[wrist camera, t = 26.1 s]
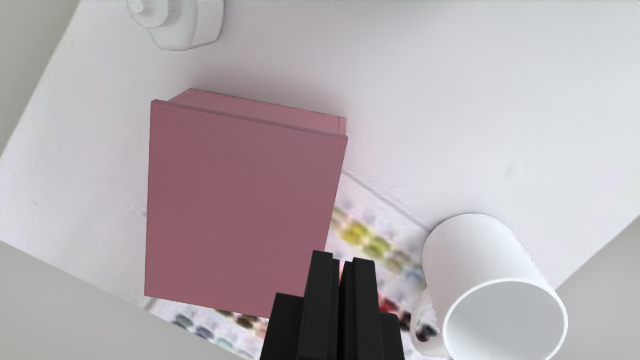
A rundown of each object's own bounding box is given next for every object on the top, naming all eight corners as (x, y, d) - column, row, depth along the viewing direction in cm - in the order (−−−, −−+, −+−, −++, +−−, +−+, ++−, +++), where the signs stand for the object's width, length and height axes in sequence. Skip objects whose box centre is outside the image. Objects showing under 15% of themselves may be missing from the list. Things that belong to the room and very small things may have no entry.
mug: (373, 271, 43) (380, 352, 33) (475, 191, 40) (518, 254, 30) (432, 326, 45) (456, 418, 35) (534, 254, 42) (593, 333, 32)
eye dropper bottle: (244, -14, 35) (196, -21, 24) (212, 51, 37) (153, 73, 26) (193, -47, 34) (118, -70, 23) (163, 21, 36) (80, 30, 25)
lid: (155, 98, 31) (150, 101, 30) (347, 135, 31) (347, 139, 30) (147, 289, 37) (143, 295, 36) (309, 319, 37) (308, 326, 36)
